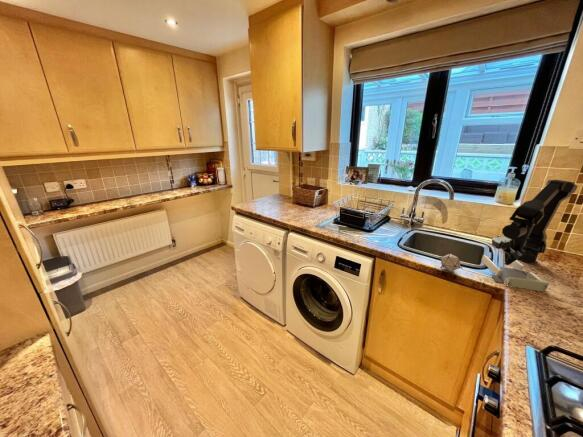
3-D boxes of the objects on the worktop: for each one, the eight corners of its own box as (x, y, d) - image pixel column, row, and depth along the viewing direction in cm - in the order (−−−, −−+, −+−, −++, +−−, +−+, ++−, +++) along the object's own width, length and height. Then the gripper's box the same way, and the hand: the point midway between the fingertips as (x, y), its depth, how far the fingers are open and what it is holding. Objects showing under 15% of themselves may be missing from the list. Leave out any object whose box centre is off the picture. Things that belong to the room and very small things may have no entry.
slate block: (497, 274, 105) (500, 266, 103) (517, 278, 102) (520, 270, 101) (503, 283, 99) (506, 275, 97) (524, 287, 96) (528, 279, 95)
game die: (442, 274, 110) (441, 252, 112) (464, 275, 104) (463, 253, 107) (437, 272, 104) (436, 249, 106) (461, 273, 98) (459, 249, 100)
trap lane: (481, 260, 115) (483, 255, 114) (512, 264, 112) (515, 258, 111) (506, 286, 97) (509, 280, 95) (544, 291, 94) (548, 285, 93)
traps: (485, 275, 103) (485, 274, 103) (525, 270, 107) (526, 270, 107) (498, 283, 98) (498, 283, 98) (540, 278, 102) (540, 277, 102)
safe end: (504, 284, 98) (508, 276, 96) (542, 289, 95) (546, 281, 94) (506, 286, 97) (510, 278, 95) (544, 291, 94) (549, 283, 92)
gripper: (487, 223, 111) (476, 252, 117) (512, 241, 94) (498, 273, 100) (514, 225, 109) (502, 255, 115) (545, 244, 92) (528, 277, 98)
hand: (506, 264), depth 107 cm, fingers closed
